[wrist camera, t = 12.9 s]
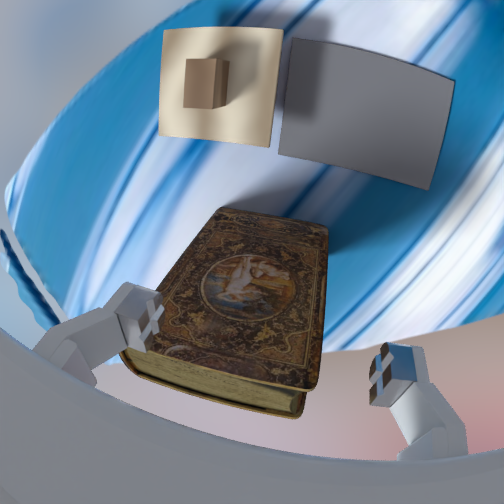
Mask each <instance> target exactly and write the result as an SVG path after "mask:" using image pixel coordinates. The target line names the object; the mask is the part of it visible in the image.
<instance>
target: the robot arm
mask: <svg viewBox="0 0 504 504" xmlns="http://www.w3.org/2000/svg"><path fill="white" fill-rule="evenodd" d="M162 302H163V295H162V293H160V292H157V291H154V290H151V289H148V288H145V287H142V286H139V285H135V284H132V283H129V282H125V283H123V284H122V285H121V286H120V288H119V289H118V290H117V291H116V292H115V294H114V295H113V296H112V297H111V298H110V300H109V301H108V302H107V303H106V304H105V306H104V307H103V308H100V307H99V308H97V309H94V310H92V311H89V312H87V313H85V314H82V315H80V316H78V317H75V318H73V319H70V320H68V321H66V322H63V323H61V324H59V325H56V326H54V327H52V328H50V329H49V330H48V331H47V333H46V334H45V335H44V336H43V338H42V339H41V340H40V341H39V342H38V344H37V345H36V346H35V347H34V349H33V350H31V349H29V348H28V347H26V346H25V345H23V344H22V343H20V342H19V341H18V340H16V339H15V338H13V337H12V336H11V335H9V334H8V333H7V332H6V331H4V330H3V329H2V328H0V504H504V448H502V449H497V450H492V451H487V452H482V453H476V454H470V455H468V446H467V437H466V429H465V425H464V423H463V422H462V420H461V419H460V418H459V416H458V415H457V414H456V412H455V411H454V410H453V408H452V407H451V406H450V404H449V403H448V402H447V401H446V399H445V398H444V397H443V395H442V394H441V393H440V391H439V390H438V389H437V388H436V386H435V385H434V384H433V383H430V381H429V375H428V370H427V364H426V360H425V355H424V350H423V348H422V347H418V346H409V345H404V344H395V343H389V342H385V343H384V344H383V345H382V347H381V348H380V350H381V354H379V355H377V356H375V358H374V360H373V361H372V364H371V367H370V373H369V380H370V382H371V383H372V384H373V386H372V387H371V389H370V405H372V406H381V407H390V410H391V412H392V414H393V416H394V418H395V420H396V422H397V424H398V426H399V427H400V429H401V431H402V433H403V435H404V437H405V439H406V441H407V443H408V445H409V446H408V447H407V448H405V449H404V450H402V451H401V452H399V453H398V454H397V460H395V461H384V460H383V461H382V460H381V461H380V460H354V459H341V458H330V457H320V456H311V455H304V454H298V453H291V452H286V451H280V450H275V449H270V448H265V447H260V446H255V445H251V444H246V443H242V442H238V441H234V440H230V439H227V438H223V437H219V436H216V435H212V434H209V433H206V432H202V431H199V430H196V429H193V428H190V427H187V426H184V425H181V424H178V423H175V422H173V421H170V420H167V419H164V418H162V417H159V416H157V415H154V414H152V413H149V412H147V411H144V410H142V409H139V408H137V407H135V406H132V405H130V404H128V403H126V402H123V401H121V400H119V399H117V398H115V397H113V396H111V395H109V394H106V393H104V392H102V391H100V390H98V389H96V388H95V385H96V384H97V380H96V378H95V377H94V375H93V373H92V371H91V370H92V369H94V368H96V367H97V366H99V365H100V364H102V363H104V362H105V361H107V360H109V359H110V358H112V357H113V356H115V355H117V354H118V353H120V352H121V351H123V350H125V349H126V348H127V347H130V348H133V349H136V350H138V351H141V352H144V353H147V352H148V350H149V349H150V347H151V345H152V344H153V342H154V336H153V335H154V334H156V333H158V332H160V330H161V328H162V327H163V324H164V321H165V309H164V307H163V306H162V305H161V303H162Z"/></svg>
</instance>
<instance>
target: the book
mask: <svg viewBox="0 0 504 504" xmlns="http://www.w3.org/2000/svg"><path fill="white" fill-rule="evenodd" d="M328 240H329V232H328V229H327V227H326V226H324V225H320V224H315V223H311V222H306V221H301V220H295V219H289V218H284V217H278V216H272V215H266V214H260V213H254V212H248V211H242V210H236V209H229V208H223V207H220V208H218V209H217V210H216V211H215V213H214V214H213V215H212V216H211V218H210V219H209V220H208V222H207V223H206V224H205V225H204V227H203V228H202V229H201V230H200V232H199V233H198V234H197V236H196V237H195V238H194V239H193V241H192V242H191V243H190V245H189V246H188V247H187V249H186V250H185V251H184V252H183V254H182V255H181V256H180V258H179V259H178V260H177V262H176V263H175V264H174V266H173V267H172V268H171V270H170V271H169V272H168V274H167V275H166V276H165V278H164V279H163V280H162V282H161V283H160V285H159V286H158V287H157V289H156V290H155V291H157V292H160V293H162V295H163V302H162V303H161V305H162V306H163V307H164V309H165V321H164V324H163V327H162V328H161V330H160V332H158V333H156V334H154V335H153V336H154V342H153V344H152V345H151V347H150V349H149V350H148V352H147V353H144V352H141V351H138V350H136V349H133V348H130V347H127V348H126V349H125V350H123V351H121V352H120V353H119V356H120V358H121V359H122V361H123V362H124V364H125V365H126V366H127V367H128V369H130V370H131V371H132V372H133V373H134V374H135V375H137V376H139V377H140V378H143V379H146V380H149V381H151V382H154V383H157V384H159V385H162V386H165V387H168V388H171V389H174V390H177V391H180V392H183V393H186V394H189V395H193V396H196V397H199V398H202V399H206V400H210V401H213V402H217V403H220V404H224V405H228V406H232V407H236V408H240V409H245V410H249V411H254V412H258V413H263V414H267V415H273V416H277V417H283V418H288V419H298V418H299V417H300V416H301V415H302V413H303V410H304V405H305V400H306V394H307V392H310V391H312V390H313V389H314V388H315V387H316V385H317V382H318V378H319V371H320V362H321V353H322V343H323V331H324V319H325V305H326V289H327V269H328Z"/></svg>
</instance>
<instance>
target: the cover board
mask: <svg viewBox="0 0 504 504" xmlns="http://www.w3.org/2000/svg"><path fill="white" fill-rule="evenodd" d="M283 34H284V30H282V29H271V28H256V27H197V28H181V29H170V30H164V36H163V47H162V60H161V76H160V98H159V136H170V137H183V138H195V139H205V140H215V141H223V142H231V143H239V144H246V145H253V146H260V147H267V148H269V147H270V141H271V133H272V125H273V117H274V109H275V101H276V92H277V84H278V76H279V68H280V59H281V51H282V43H283Z"/></svg>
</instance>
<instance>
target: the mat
mask: <svg viewBox="0 0 504 504" xmlns="http://www.w3.org/2000/svg"><path fill="white" fill-rule="evenodd" d="M453 87H454V82H453V81H451V80H449V79H447V78H444V77H442V76H439V75H437V74H434V73H432V72H429V71H427V70H424V69H421V68H419V67H416V66H413V65H410V64H407V63H404V62H401V61H398V60H395V59H392V58H388V57H385V56H381V55H378V54H374V53H370V52H366V51H363V50H358V49H354V48H350V47H345V46H340V45H335V44H330V43H325V42H319V41H313V40H306V39H299V38H293V40H292V49H291V57H290V65H289V73H288V81H287V89H286V97H285V104H284V112H283V120H282V128H281V135H280V143H279V150H278V155H284V156H290V157H295V158H300V159H305V160H311V161H315V162H320V163H325V164H330V165H334V166H339V167H343V168H347V169H352V170H356V171H360V172H364V173H368V174H372V175H375V176H379V177H383V178H387V179H390V180H394V181H397V182H401V183H404V184H408V185H411V186H414V187H418V188H421V189H424V190H427V191H428V190H429V187H430V184H431V180H432V177H433V174H434V170H435V167H436V163H437V160H438V156H439V153H440V149H441V145H442V141H443V137H444V133H445V128H446V124H447V119H448V114H449V110H450V104H451V99H452V93H453Z"/></svg>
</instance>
